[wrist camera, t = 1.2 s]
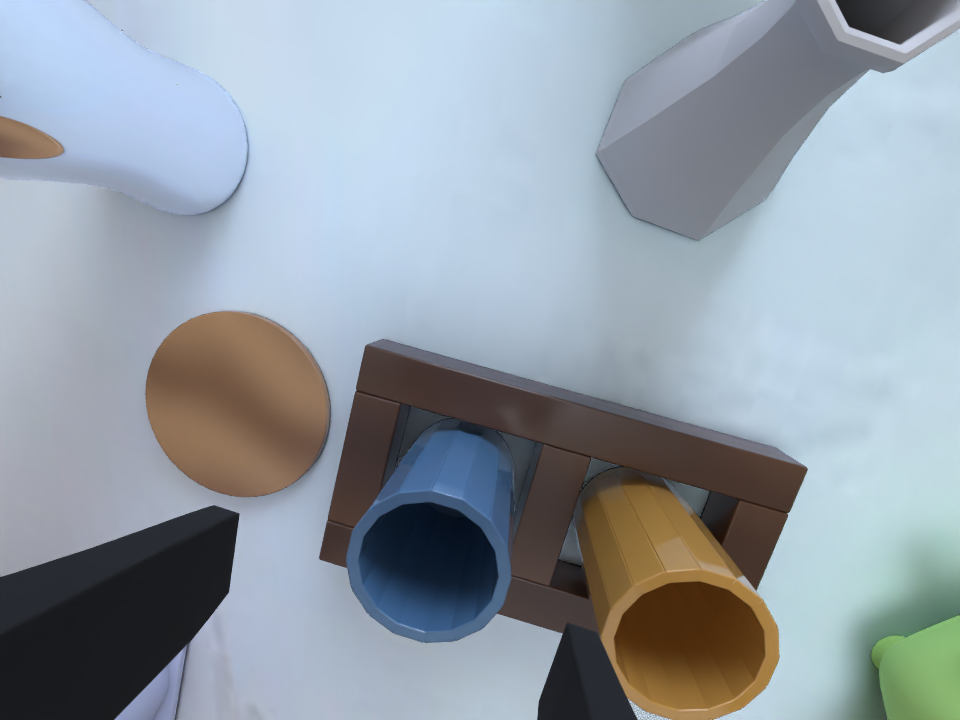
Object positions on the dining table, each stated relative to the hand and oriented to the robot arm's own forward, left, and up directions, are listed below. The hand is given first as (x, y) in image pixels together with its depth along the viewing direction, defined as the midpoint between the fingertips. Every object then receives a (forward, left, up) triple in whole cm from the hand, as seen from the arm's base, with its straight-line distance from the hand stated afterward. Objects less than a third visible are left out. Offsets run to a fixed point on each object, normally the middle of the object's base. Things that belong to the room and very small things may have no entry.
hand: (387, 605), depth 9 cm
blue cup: (-2, 0, -11) cm, 12 cm away
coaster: (-2, +11, -11) cm, 16 cm away
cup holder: (-2, -4, -11) cm, 12 cm away
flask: (+14, -6, -12) cm, 19 cm away
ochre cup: (-2, -8, -11) cm, 14 cm away
